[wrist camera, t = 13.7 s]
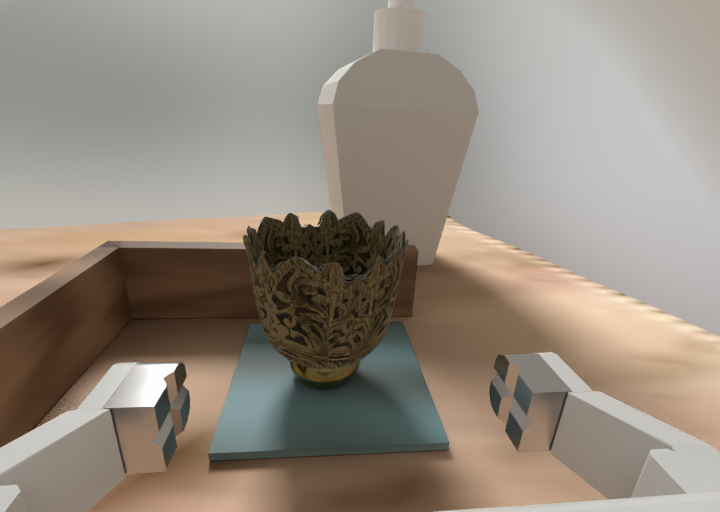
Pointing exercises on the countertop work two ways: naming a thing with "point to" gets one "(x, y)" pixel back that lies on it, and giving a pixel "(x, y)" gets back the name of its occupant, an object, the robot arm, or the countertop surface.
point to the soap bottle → (397, 131)
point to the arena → (255, 365)
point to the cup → (325, 291)
